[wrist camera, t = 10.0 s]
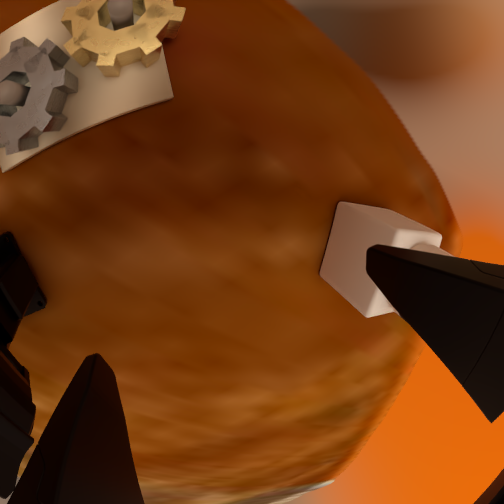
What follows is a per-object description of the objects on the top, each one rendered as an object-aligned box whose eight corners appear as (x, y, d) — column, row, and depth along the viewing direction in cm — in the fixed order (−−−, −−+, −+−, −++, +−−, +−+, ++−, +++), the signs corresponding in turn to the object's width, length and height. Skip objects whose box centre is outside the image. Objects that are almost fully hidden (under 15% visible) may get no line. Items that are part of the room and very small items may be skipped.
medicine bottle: (369, 272, 28) (452, 336, 18) (316, 275, 25) (408, 360, 15) (388, 208, 25) (488, 259, 15) (336, 199, 22) (456, 261, 12)
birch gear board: (10, 169, 12) (-29, 186, 8) (-9, 49, 7) (-44, 34, 3) (172, 99, 15) (181, 86, 10) (147, -21, 10) (152, -62, 5)
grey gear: (12, 169, 11) (-9, 178, 9) (-16, 92, 8) (-39, 90, 5) (91, 109, 12) (80, 105, 10) (60, 31, 9) (47, 15, 6)
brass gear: (82, 91, 11) (68, 83, 9) (70, 10, 8) (59, -9, 6) (185, 58, 13) (193, 44, 10) (169, -19, 10) (175, -42, 7)
